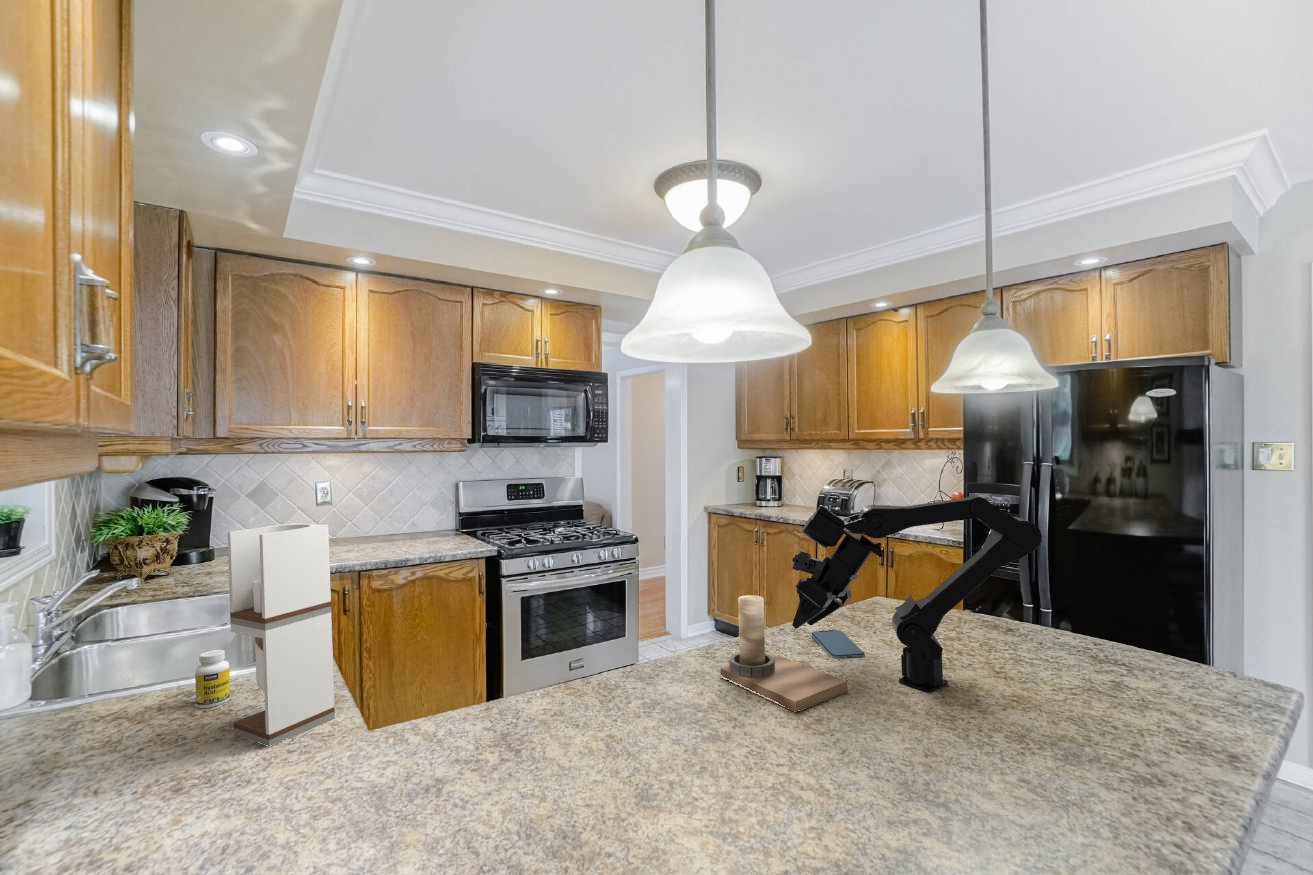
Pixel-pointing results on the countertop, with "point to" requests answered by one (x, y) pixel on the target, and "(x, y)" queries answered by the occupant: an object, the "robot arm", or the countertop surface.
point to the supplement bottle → (212, 679)
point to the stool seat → (785, 681)
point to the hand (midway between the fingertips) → (801, 625)
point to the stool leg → (751, 630)
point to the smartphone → (837, 644)
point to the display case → (284, 625)
